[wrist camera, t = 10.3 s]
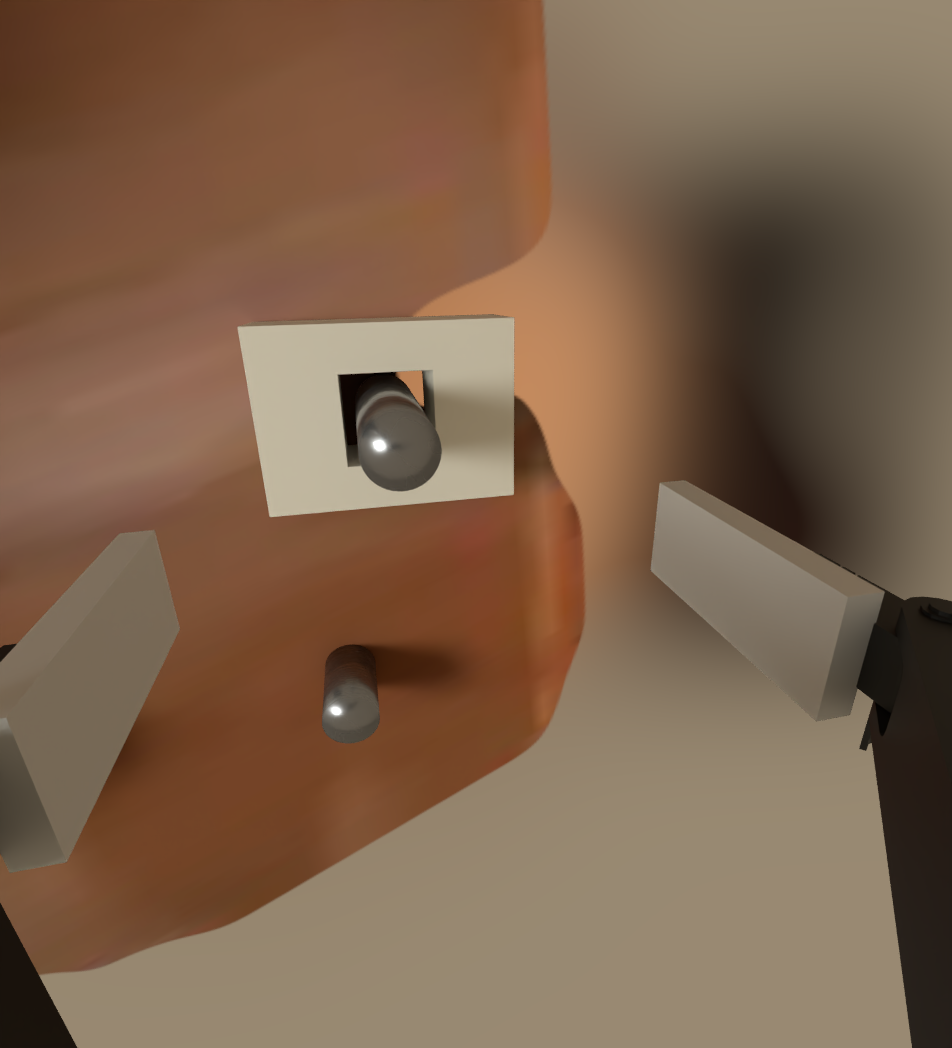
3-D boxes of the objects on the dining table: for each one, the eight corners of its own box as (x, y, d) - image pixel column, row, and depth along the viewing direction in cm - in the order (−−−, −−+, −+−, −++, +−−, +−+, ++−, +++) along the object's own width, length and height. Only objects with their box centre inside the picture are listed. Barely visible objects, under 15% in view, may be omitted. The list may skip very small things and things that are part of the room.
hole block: (252, 322, 33) (237, 326, 28) (492, 314, 35) (514, 317, 31) (279, 488, 36) (269, 517, 32) (494, 471, 39) (513, 494, 34)
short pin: (322, 648, 41) (318, 702, 36) (372, 641, 42) (376, 693, 36) (328, 689, 43) (325, 747, 37) (377, 682, 43) (381, 738, 38)
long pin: (351, 375, 35) (354, 413, 24) (411, 372, 35) (439, 407, 25) (357, 433, 36) (362, 495, 25) (415, 430, 37) (443, 487, 26)
